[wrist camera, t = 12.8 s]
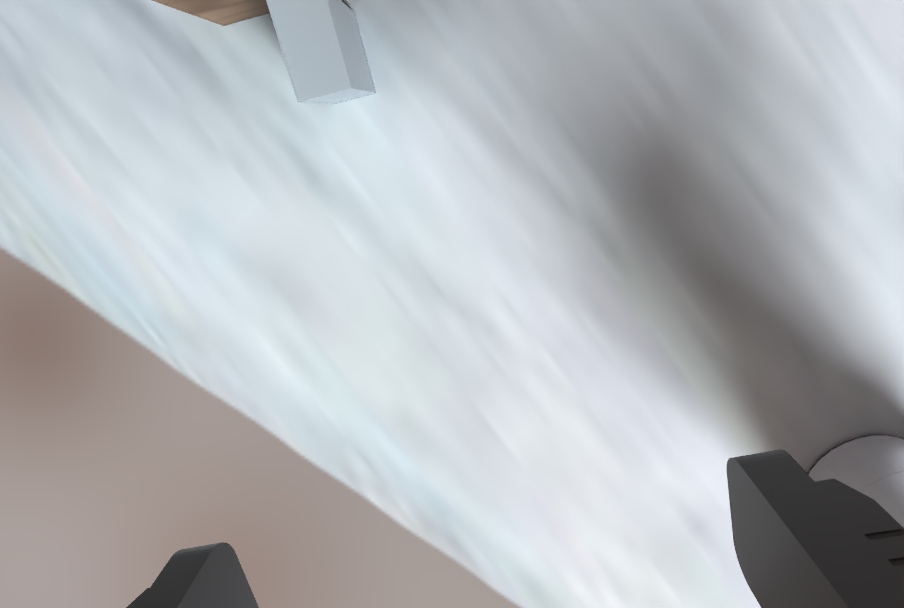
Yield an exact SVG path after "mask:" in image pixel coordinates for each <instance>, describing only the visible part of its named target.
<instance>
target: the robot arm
mask: <svg viewBox="0 0 904 608" xmlns="http://www.w3.org/2000/svg"><path fill="white" fill-rule="evenodd" d="M727 478H728V489H729V499H730V509H731V519H732V530H733V540H734V546H735V550H736V554H737V558H738V561H739V564H740V567H741V570H742V572H743V575H744V577H745V579H746V581H747V583H748V585H749V587H750V589H751V591H752V592H753V594H754V596H755V597H756V599H757V601H758V603H759V604H760V606H761V608H904V439H901V438H899V437H893V436H887V435H874V436H867V437H862V438H857V439H855V440H852V441H849V442H846V443H844V444H842V445H840V446H838V447H837V448H835V449H833V450H831V451H830V452H829V453H827V454H826V455H825V456H824V457H822V458H821V459H820V460H819V461H818V462H817V463H816V465H815V466H814V467H813V468H812V469H811V470H810V472H809V474H807V473H806V472H805V471H804V470H803V468H802V467H801V466H800V465H799V464H798V463H797V462H796V461H795V460H794V459H793V458H792V457H791V456H790V455H789V454H788V453H787V452H786V451H784V450H775V451H769V452H764V453H758V454H752V455H746V456H740V457H734V458H730V459H729V460H728V462H727ZM127 608H259V607H258V605H257V603H256V600H255V598H254V595H253V593H252V591H251V588H250V586H249V584H248V581H247V579H246V577H245V574H244V572H243V569H242V567H241V565H240V563H239V560H238V558H237V555H236V553H235V551H234V549H233V548H232V547H231V546H230V545H229V544H228V543H217V544H211V545H205V546H199V547H194V548H187V549H182V550H179V551H177V552H176V553H175V554H174V555H173V556H172V557H171V558H170V560H169V561H168V563H167V564H166V566H165V567H164V568H163V570H162V571H161V573H160V574H159V576H158V577H157V579H156V580H155V582H154V583H153V585H152V586H151V587H150V588H147V589H146V590H145V591H144V592H143V593H142V594H141V595H140V596H138V597H137V598H136V599H135V600H134V601H133V602H132V603H131V604H130V605H129V606H128V607H127Z"/></svg>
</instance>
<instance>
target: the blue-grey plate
mask: <svg viewBox="0 0 904 608" xmlns="http://www.w3.org/2000/svg"><path fill="white" fill-rule="evenodd" d="M266 2H267V5H268V8H269V11H270V15H271V18H272V21H273V24H274V27H275V31H276V34H277V37H278V40H279V43H280V47H281V50H282V53H283V56H284V59H285V63H286V66H287V69H288V72H289V76H290V79H291V82H292V85H293V88H294V92H295V95H296V98H297V101H298V102H299V103H326V104H336V103H339V102H343V101H347V100H351V99H355V98H359V97H362V96H366V95H370V94H374V93H376V91H375V88H374V84H373V80H372V76H371V73H370V69H369V65H368V61H367V58H366V54H365V50H364V47H363V43H362V39H361V35H360V32H359V28H358V24H357V20H356V17H355V13H354V12H353V11H352V10H351V9H350V8H349V7H348V6H347V5H345V4H344V3H343V2H342V1H341V0H266Z"/></svg>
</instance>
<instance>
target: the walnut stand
mask: <svg viewBox="0 0 904 608" xmlns="http://www.w3.org/2000/svg"><path fill="white" fill-rule="evenodd" d="M153 1H155V2H158V3H161V4H164V5H167V6H169V7H172V8H175V9H178V10H181V11H183V12H186V13H189V14H192V15H195V16H198V17H200V18H203V19H206V20H209V21H212V22H214V23H217V24H220V25H223V26H225V25H229V24H232V23H236V22H239V21H243V20H246V19H250V18H253V17H257V16H260V15H264V14H268V13H270V11H269V8H268V5H267V2H266V0H153Z"/></svg>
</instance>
